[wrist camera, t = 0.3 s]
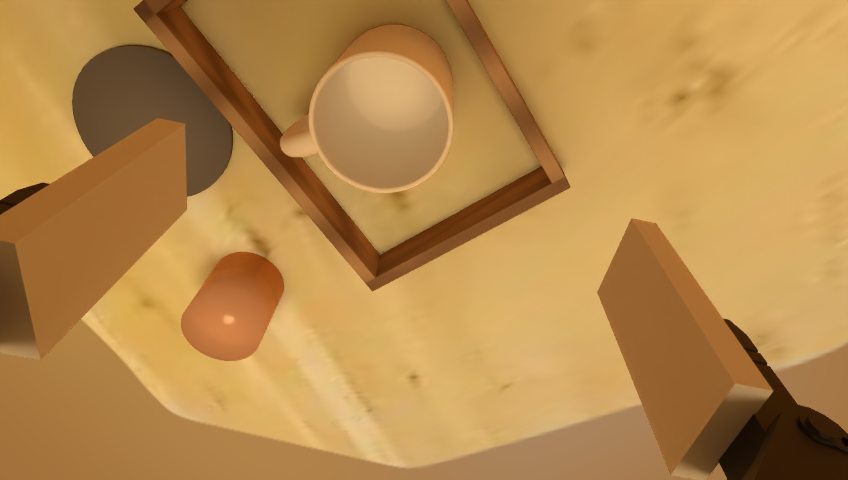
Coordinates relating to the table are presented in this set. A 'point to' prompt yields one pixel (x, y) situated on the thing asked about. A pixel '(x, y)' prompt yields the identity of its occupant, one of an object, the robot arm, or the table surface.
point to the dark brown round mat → (150, 108)
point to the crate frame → (308, 190)
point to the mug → (380, 112)
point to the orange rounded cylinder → (233, 307)
